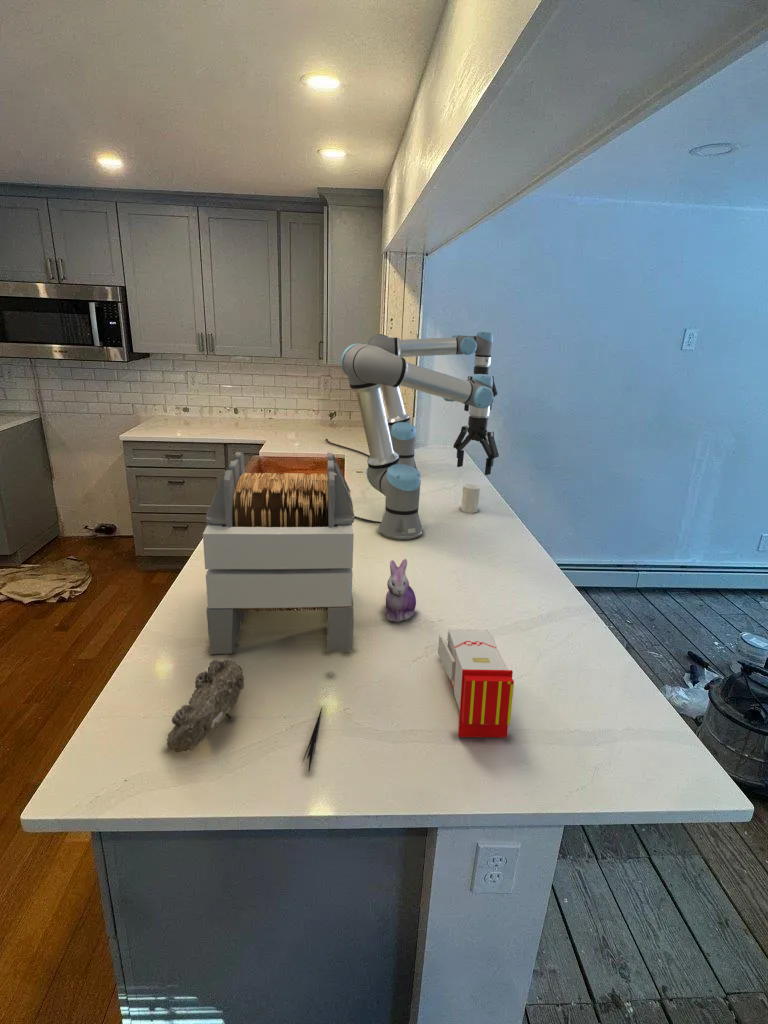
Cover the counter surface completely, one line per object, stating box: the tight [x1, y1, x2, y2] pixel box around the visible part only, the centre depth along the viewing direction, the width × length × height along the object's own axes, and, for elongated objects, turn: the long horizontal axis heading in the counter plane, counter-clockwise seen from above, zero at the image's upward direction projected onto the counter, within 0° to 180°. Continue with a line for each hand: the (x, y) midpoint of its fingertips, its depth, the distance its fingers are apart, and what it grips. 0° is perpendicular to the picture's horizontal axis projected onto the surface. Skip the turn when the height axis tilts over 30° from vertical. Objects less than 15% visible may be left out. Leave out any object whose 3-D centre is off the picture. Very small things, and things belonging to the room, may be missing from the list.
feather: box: [301, 673, 332, 771], centre depth 108 cm, size 2×28×2 cm
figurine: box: [384, 558, 417, 623], centre depth 145 cm, size 9×10×15 cm
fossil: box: [166, 658, 245, 754], centre depth 106 cm, size 22×10×15 cm
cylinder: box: [460, 483, 481, 514], centre depth 226 cm, size 7×7×10 cm
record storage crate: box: [202, 451, 355, 655], centre depth 137 cm, size 34×33×41 cm
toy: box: [437, 628, 515, 738], centre depth 117 cm, size 12×13×30 cm
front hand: (473, 470), depth 221 cm, fingers open, 13 cm apart
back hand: (477, 410), depth 278 cm, fingers open, 13 cm apart
